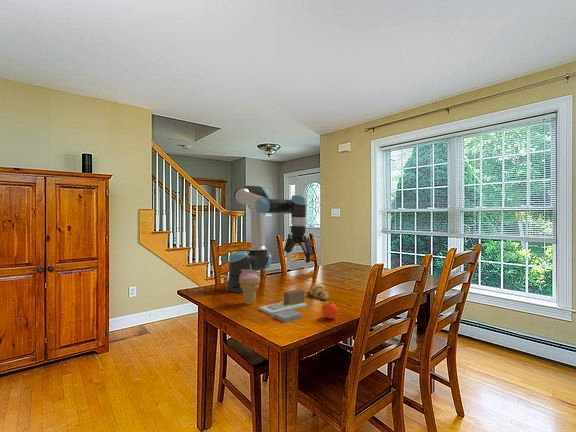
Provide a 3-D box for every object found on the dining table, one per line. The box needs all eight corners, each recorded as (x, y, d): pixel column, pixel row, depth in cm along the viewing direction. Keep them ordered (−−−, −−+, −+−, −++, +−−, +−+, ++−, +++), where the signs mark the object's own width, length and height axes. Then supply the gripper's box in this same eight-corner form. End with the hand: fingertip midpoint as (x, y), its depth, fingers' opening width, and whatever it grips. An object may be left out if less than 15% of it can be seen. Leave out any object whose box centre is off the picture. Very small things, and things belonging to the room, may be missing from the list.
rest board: (258, 309, 148) (258, 307, 148) (293, 301, 161) (293, 299, 161) (272, 315, 139) (272, 312, 139) (307, 306, 153) (307, 304, 153)
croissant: (331, 307, 164) (337, 293, 165) (316, 299, 161) (322, 286, 162) (315, 296, 184) (321, 284, 185) (301, 289, 181) (307, 277, 182)
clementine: (317, 316, 137) (317, 301, 137) (328, 314, 141) (328, 298, 141) (329, 322, 131) (329, 305, 131) (340, 318, 135) (340, 302, 135)
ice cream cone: (236, 301, 161) (236, 264, 161) (256, 299, 165) (256, 262, 165) (241, 307, 151) (241, 267, 151) (262, 305, 155) (262, 265, 155)
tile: (290, 313, 143) (273, 318, 136) (290, 309, 143) (273, 313, 136) (302, 318, 136) (284, 323, 130) (302, 313, 136) (284, 318, 130)
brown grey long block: (297, 300, 160) (297, 288, 160) (305, 302, 155) (305, 291, 155) (268, 307, 148) (268, 294, 148) (275, 309, 143) (275, 297, 143)
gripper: (277, 224, 163) (277, 263, 164) (309, 227, 144) (308, 271, 144) (288, 224, 168) (288, 262, 169) (320, 226, 149) (319, 269, 149)
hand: (297, 266), depth 157 cm, fingers open, 13 cm apart
